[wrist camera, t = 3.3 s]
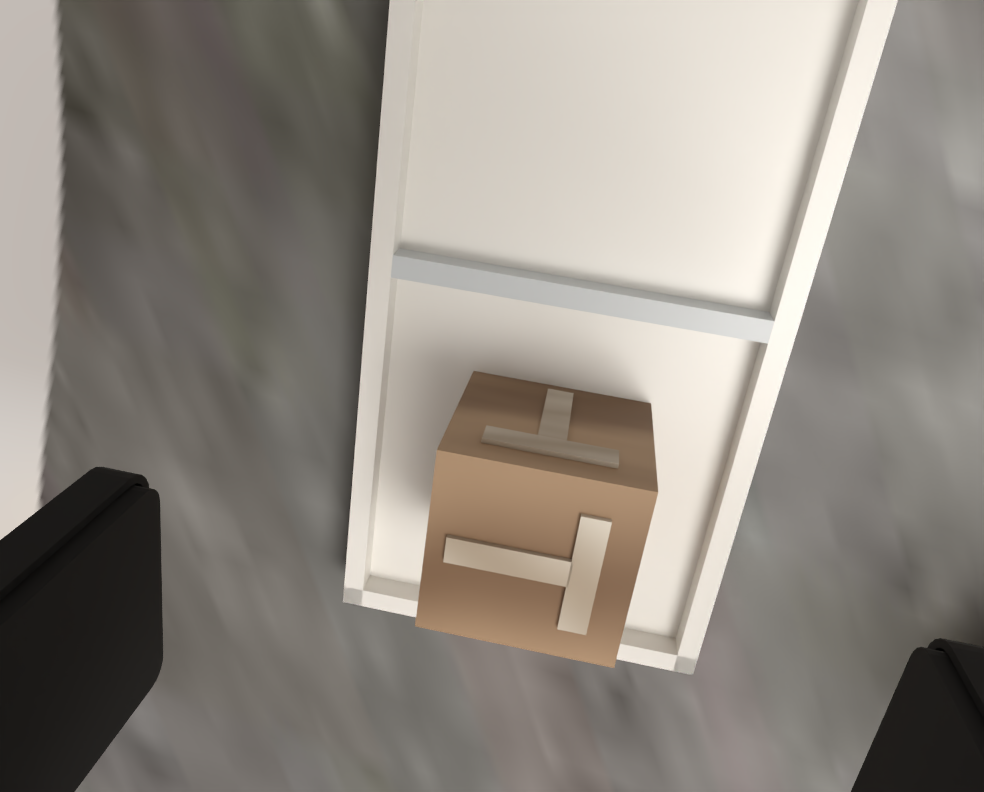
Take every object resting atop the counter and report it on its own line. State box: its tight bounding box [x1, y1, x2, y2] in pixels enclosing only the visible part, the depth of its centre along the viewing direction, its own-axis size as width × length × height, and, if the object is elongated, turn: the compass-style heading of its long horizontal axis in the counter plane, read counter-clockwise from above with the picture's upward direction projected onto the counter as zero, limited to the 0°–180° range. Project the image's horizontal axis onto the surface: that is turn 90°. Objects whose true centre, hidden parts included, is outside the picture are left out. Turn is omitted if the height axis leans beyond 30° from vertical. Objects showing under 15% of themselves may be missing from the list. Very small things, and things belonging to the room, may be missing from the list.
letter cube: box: [415, 371, 658, 668], centre depth 21 cm, size 5×5×5 cm
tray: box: [343, 0, 898, 675], centre depth 22 cm, size 22×11×2 cm, turn 172°
